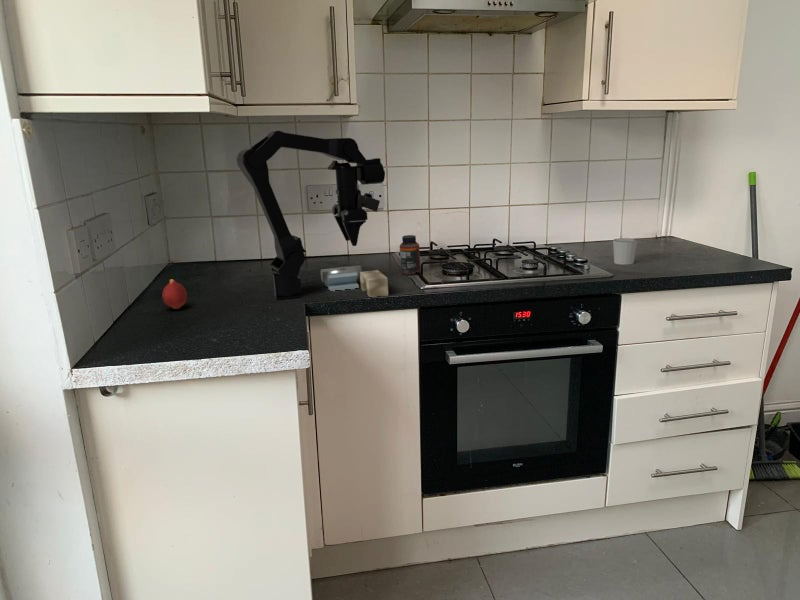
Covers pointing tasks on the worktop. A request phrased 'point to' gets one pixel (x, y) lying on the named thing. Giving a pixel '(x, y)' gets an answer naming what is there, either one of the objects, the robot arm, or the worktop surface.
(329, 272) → the axle
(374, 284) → the beam
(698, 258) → the worktop surface
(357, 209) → the robot arm
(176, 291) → the onion
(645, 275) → the worktop surface
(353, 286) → the v block
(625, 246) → the grey cup
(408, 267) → the supplement bottle
